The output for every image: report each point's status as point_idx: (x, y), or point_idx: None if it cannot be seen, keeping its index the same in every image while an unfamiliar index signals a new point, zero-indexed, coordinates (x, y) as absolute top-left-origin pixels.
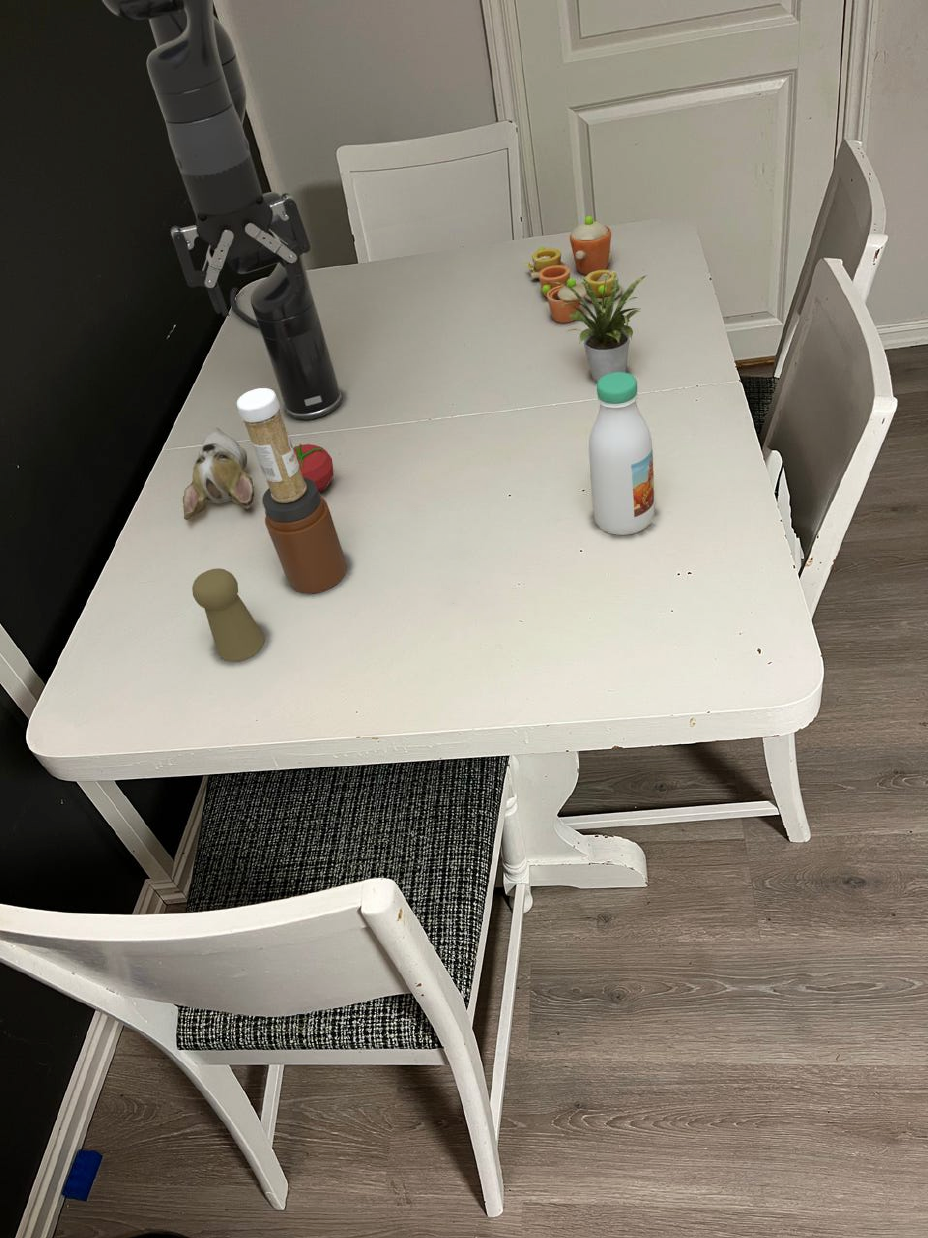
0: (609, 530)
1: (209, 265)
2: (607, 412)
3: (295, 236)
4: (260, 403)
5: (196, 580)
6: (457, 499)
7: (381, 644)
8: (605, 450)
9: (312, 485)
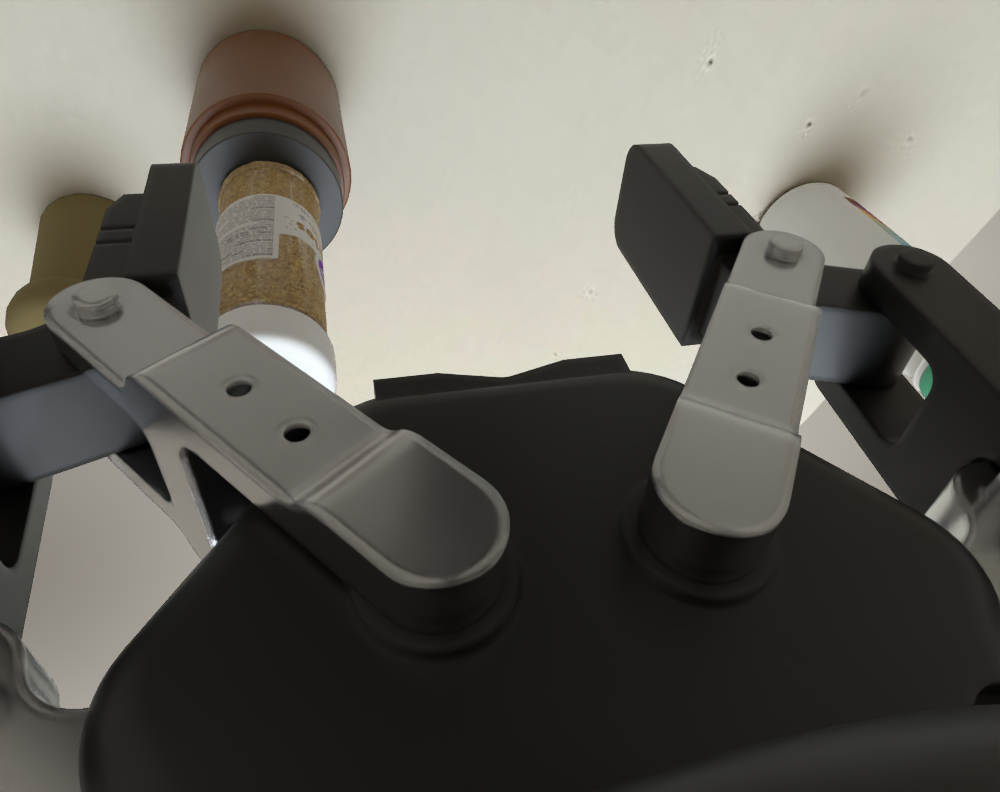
0: None
1: (178, 520)
2: (906, 370)
3: (865, 442)
4: None
5: (17, 332)
6: (624, 9)
7: (358, 327)
8: None
9: (333, 201)
